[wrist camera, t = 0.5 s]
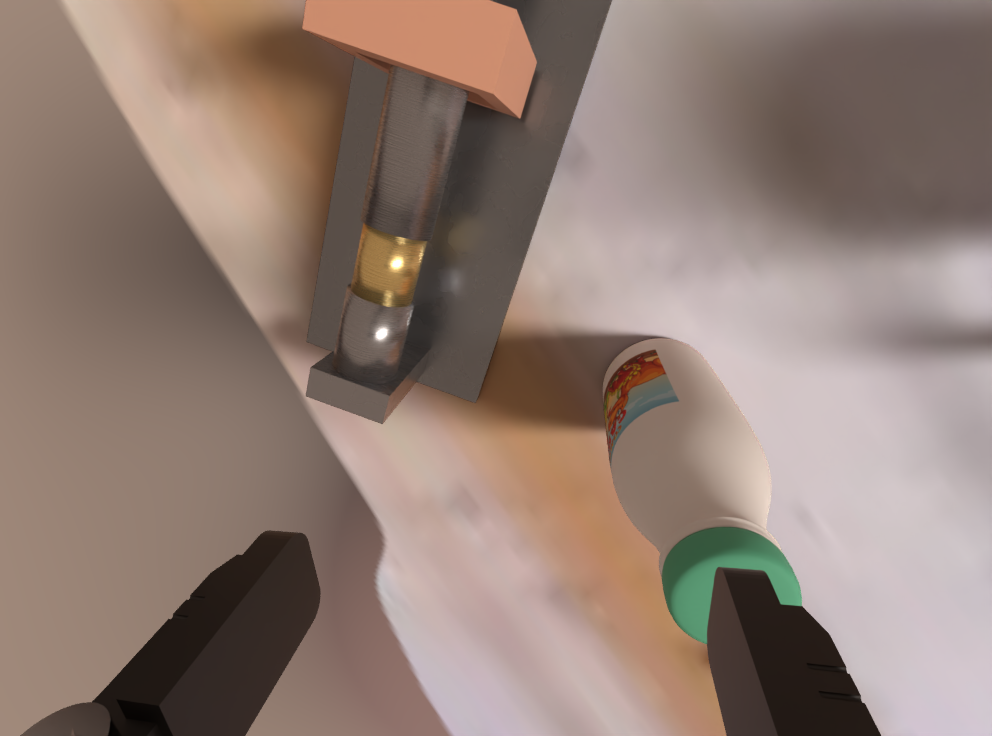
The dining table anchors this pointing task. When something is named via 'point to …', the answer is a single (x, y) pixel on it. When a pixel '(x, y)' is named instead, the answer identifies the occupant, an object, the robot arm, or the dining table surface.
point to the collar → (436, 43)
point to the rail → (438, 218)
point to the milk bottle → (690, 476)
